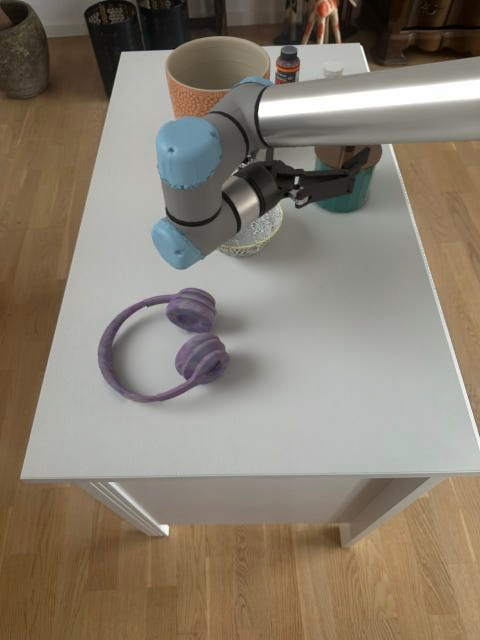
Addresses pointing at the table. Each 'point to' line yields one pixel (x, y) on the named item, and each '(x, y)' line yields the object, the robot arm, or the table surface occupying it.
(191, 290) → the headphones
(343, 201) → the storage jar
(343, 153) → the jar lid
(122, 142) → the table surface
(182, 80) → the planter
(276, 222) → the bowl
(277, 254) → the table surface
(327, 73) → the pill bottle
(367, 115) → the robot arm
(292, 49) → the supplement bottle
